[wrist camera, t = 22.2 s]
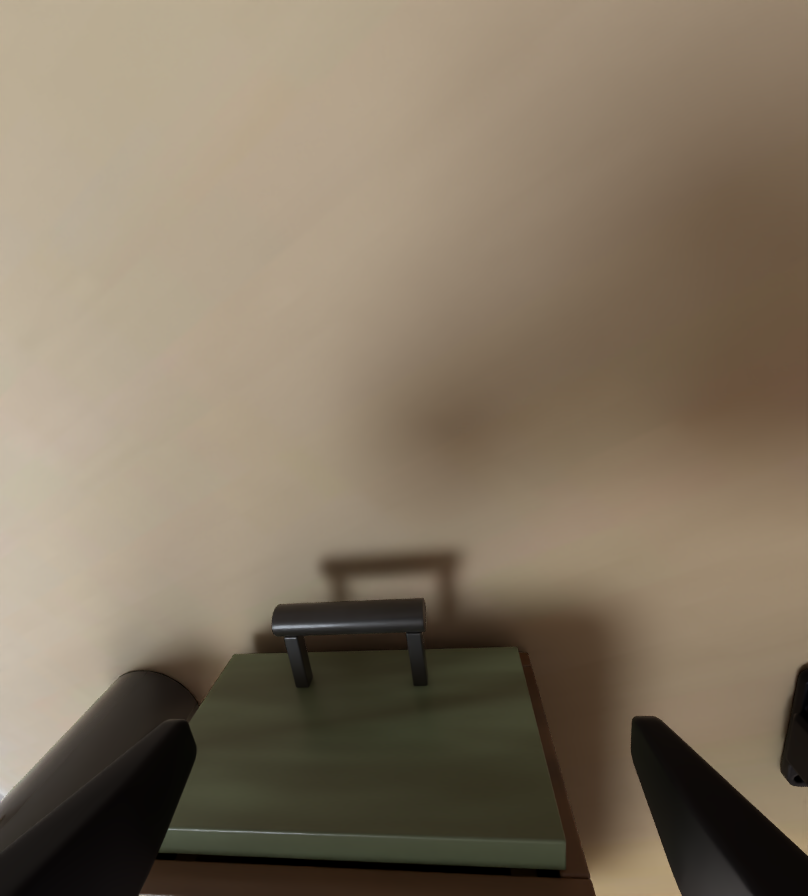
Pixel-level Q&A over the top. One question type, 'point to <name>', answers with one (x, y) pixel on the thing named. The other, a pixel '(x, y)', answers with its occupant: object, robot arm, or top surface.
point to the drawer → (369, 755)
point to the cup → (93, 746)
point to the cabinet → (384, 891)
